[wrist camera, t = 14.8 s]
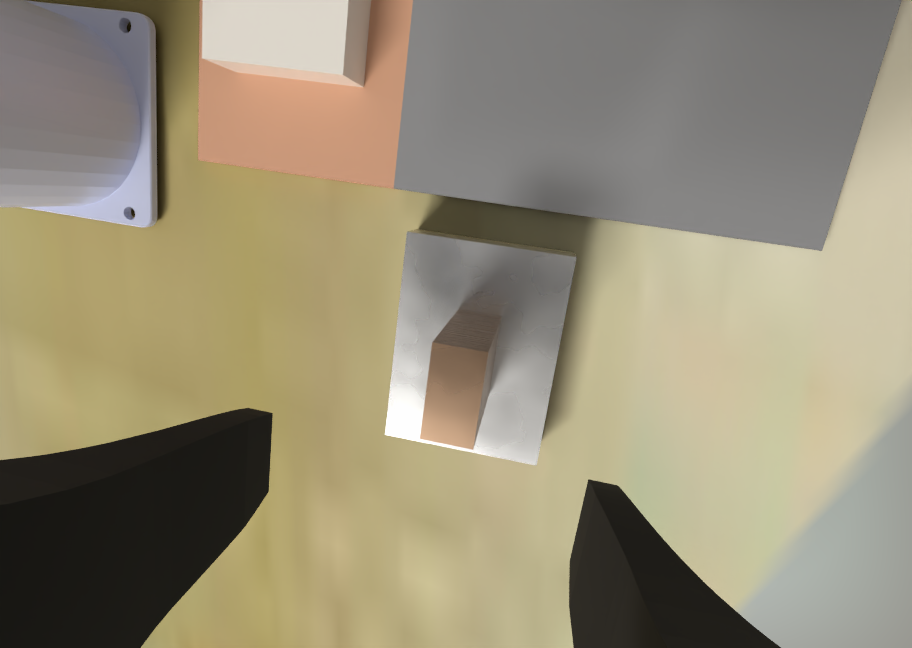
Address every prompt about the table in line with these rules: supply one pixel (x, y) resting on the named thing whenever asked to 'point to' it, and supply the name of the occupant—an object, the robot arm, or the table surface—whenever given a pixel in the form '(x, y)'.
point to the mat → (583, 109)
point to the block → (289, 38)
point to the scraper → (477, 343)
